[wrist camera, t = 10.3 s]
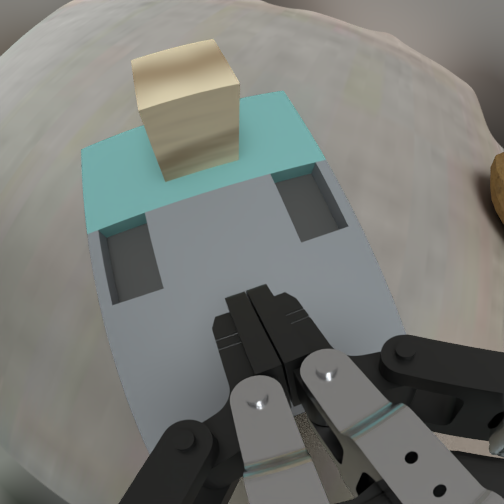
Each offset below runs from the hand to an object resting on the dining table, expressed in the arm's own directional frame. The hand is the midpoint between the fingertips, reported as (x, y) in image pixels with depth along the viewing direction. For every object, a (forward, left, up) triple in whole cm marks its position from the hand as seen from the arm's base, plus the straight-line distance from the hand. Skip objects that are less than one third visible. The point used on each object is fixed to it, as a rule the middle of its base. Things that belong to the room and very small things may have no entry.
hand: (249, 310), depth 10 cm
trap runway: (-4, +5, -11) cm, 13 cm away
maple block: (-10, +11, -9) cm, 18 cm away
